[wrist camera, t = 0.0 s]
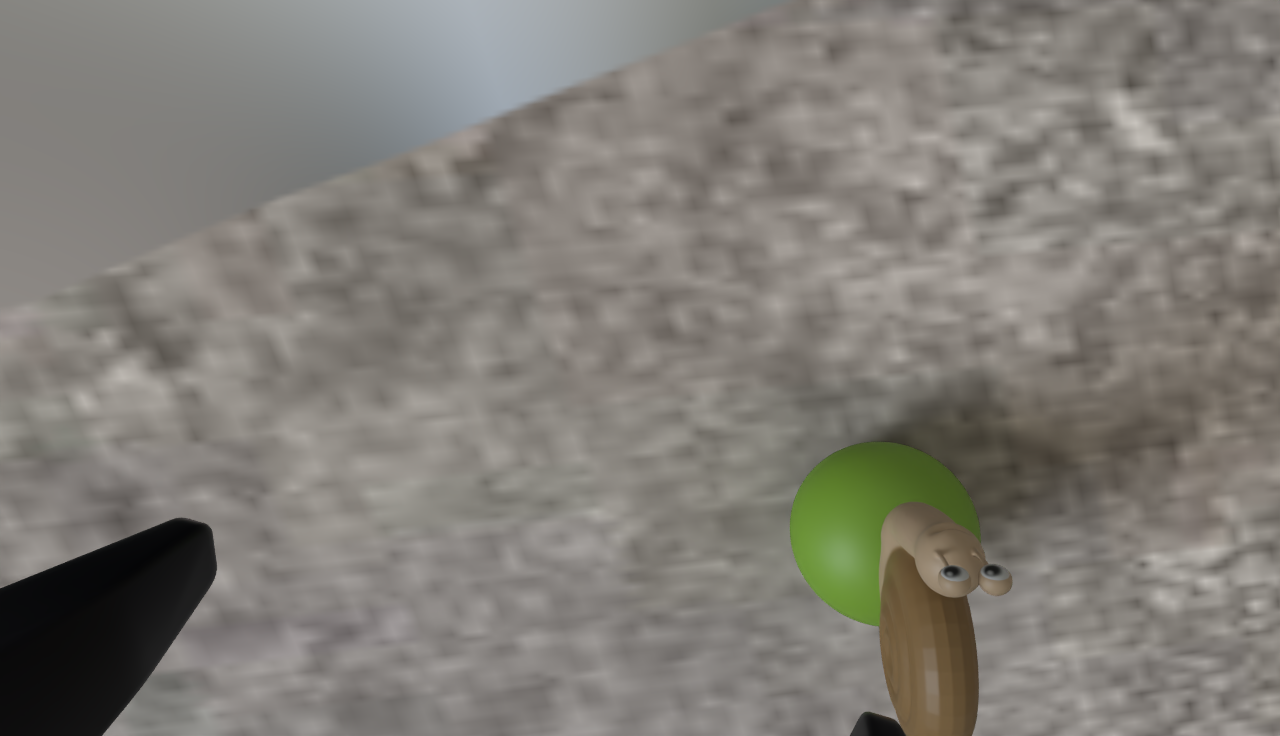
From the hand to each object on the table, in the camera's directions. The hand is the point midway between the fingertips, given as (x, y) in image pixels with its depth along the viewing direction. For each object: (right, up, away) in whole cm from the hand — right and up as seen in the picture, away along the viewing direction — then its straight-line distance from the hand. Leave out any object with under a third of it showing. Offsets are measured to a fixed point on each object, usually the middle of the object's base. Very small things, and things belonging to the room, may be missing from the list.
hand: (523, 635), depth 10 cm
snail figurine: (+9, 0, +15) cm, 18 cm away
